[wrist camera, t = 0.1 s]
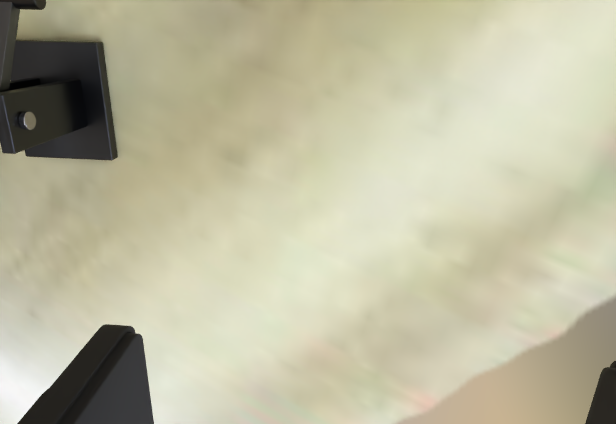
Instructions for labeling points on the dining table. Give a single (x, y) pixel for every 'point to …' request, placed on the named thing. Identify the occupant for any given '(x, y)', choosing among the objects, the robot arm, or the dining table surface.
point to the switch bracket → (58, 102)
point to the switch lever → (11, 34)
